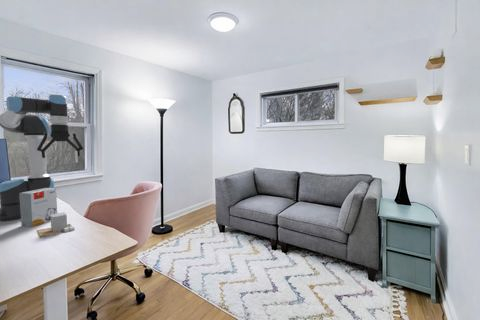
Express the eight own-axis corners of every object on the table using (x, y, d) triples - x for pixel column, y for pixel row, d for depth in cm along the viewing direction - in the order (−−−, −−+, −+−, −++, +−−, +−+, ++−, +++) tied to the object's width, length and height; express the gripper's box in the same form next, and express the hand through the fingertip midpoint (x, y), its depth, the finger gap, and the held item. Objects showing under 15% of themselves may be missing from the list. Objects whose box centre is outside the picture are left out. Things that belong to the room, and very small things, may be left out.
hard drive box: (32, 229, 132) (29, 193, 130) (20, 228, 133) (17, 193, 131) (58, 219, 147) (56, 187, 145) (48, 219, 148) (46, 187, 146)
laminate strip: (57, 228, 132) (56, 226, 132) (70, 226, 137) (69, 223, 137) (61, 235, 124) (61, 232, 124) (75, 232, 128) (75, 229, 128)
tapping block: (51, 229, 128) (50, 214, 128) (64, 226, 133) (64, 212, 132) (53, 232, 124) (52, 217, 124) (67, 229, 128) (66, 214, 128)
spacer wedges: (64, 230, 126) (63, 228, 126) (73, 228, 129) (73, 226, 129) (64, 231, 125) (64, 229, 125) (74, 229, 128) (74, 227, 128)
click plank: (37, 232, 126) (37, 230, 126) (56, 229, 132) (56, 226, 132) (40, 239, 118) (40, 236, 118) (60, 235, 123) (60, 233, 123)
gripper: (29, 123, 118) (32, 165, 121) (87, 125, 136) (89, 162, 138) (28, 123, 124) (31, 164, 126) (84, 125, 141) (86, 161, 143)
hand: (62, 163), depth 132 cm, fingers open, 13 cm apart
